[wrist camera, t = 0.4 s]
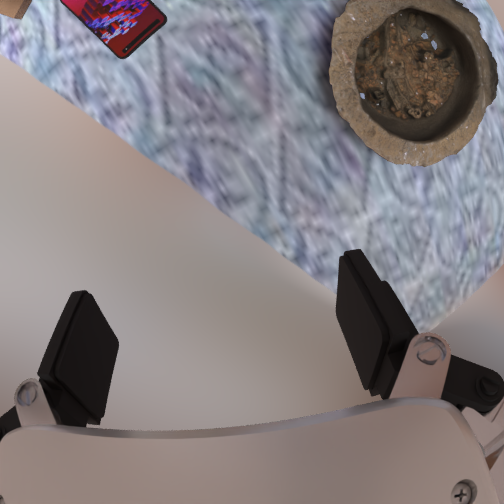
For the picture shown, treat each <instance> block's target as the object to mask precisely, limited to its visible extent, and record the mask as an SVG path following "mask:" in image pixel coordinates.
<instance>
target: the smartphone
mask: <svg viewBox="0 0 504 504" xmlns="http://www.w3.org/2000/svg"><path fill="white" fill-rule="evenodd" d="M60 1H61V3H62V4H63V5H64V6H66V7H67V8H68V9H69V10H70V11H71V12H72V13H73V14H74V15H75V16H76V17H77V18H78V19H79V20H80V21H81V22H82V23H83V24H84V25H85V26H86V27H87V28H88V29H89V30H91V31H92V32H93V33H94V34H95V35H96V36H97V37H98V38H99V39H100V40H101V41H102V42H103V43H104V44H105V45H106V46H107V47H108V48H109V49H110V50H111V51H112V52H113V53H114V54H115V55H116V56H117V57H118V58H120V59H125V58H127V57H128V56H130V55H131V54H132V53H133V52H134V51H135V50H136V49H137V48H138V47H139V46H140V45H141V44H142V43H144V42H145V41H146V40H147V39H148V38H149V37H150V36H151V35H153V34H154V33H155V32H156V31H157V30H158V29H160V28H161V27H162V26H163V25H164V24H165V23H166V21H167V17H166V15H165V14H164V13H163V12H161V11H160V10H159V9H158V8H157V7H156V6H155V5H154V3H153V2H152V1H151V0H60Z"/></svg>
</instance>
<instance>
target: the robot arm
mask: <svg viewBox="0 0 504 504" xmlns="http://www.w3.org/2000/svg"><path fill="white" fill-rule="evenodd" d="M336 316H337V319H338V322H339V324H340V327H341V329H342V332H343V335H344V337H345V340H346V342H347V345H348V347H349V350H350V353H351V355H352V358H353V361H354V363H355V366H356V369H357V371H358V374H359V377H360V379H361V382H362V385H363V387H364V389H365V390H368V389H369V391H370V394H371V396H376V395H379V394H380V395H381V398H382V399H383V400H381V401H376V402H372V403H367V404H362V405H357V406H354V407H349V408H345V409H341V410H336V411H331V412H327V413H321V414H316V415H311V416H306V417H300V418H295V419H289V420H283V421H277V422H270V423H262V424H255V425H246V426H237V427H226V428H214V429H199V430H174V431H173V430H171V431H142V430H141V431H139V430H113V429H98V428H87V427H86V424H87V423H88V424H93V425H100V421H101V418H102V417H104V414H105V408H106V403H107V398H108V393H109V388H110V383H111V379H112V374H113V370H114V365H115V361H116V357H117V353H118V348H119V342H118V339H117V337H116V335H115V334H114V332H113V331H112V329H111V328H110V326H109V324H108V322H107V320H106V319H105V317H104V315H103V314H102V312H101V310H100V308H99V306H98V305H97V303H96V301H95V299H94V297H93V296H92V294H89V293H88V292H87V291H86V290H82V291H75V292H72V294H71V295H70V297H69V299H68V302H67V304H66V306H65V308H64V310H63V312H62V314H61V316H60V319H59V321H58V323H57V325H56V328H55V330H54V332H53V335H52V337H51V339H50V342H49V345H48V347H47V349H46V352H45V354H44V357H43V359H42V362H41V365H40V367H39V370H38V373H37V374H38V376H39V377H40V379H39V381H38V380H36V379H33V378H30V379H27V380H25V381H23V382H22V383H21V384H20V385H19V386H18V388H17V390H16V392H15V396H14V402H15V406H14V407H13V408H11V409H10V410H9V411H8V412H6V413H5V414H4V415H3V416H1V417H0V504H504V381H503V379H502V377H501V376H500V375H499V374H498V373H497V372H495V371H493V370H491V369H488V368H486V367H483V366H480V365H477V364H475V363H472V362H469V361H466V360H464V359H462V358H459V357H456V356H454V355H451V349H450V346H449V344H448V343H447V341H446V340H445V339H444V338H442V337H441V336H440V335H437V334H435V333H430V332H426V333H421V334H419V333H418V331H417V329H416V328H415V326H414V324H413V322H412V321H411V319H410V317H409V316H408V314H407V312H406V311H405V309H404V307H403V306H402V304H401V302H400V301H399V299H398V298H397V296H396V294H395V293H394V291H393V290H392V288H391V286H390V285H389V284H388V282H387V281H381V280H380V278H379V277H378V275H377V274H376V272H375V270H374V269H373V267H372V266H371V264H370V263H369V261H368V259H367V258H366V256H365V255H364V253H363V252H362V250H361V249H356V250H350V251H345V252H344V256H340V258H339V272H338V287H337V301H336ZM475 435H476V437H475ZM478 441H479V442H480V443H481V444H482V445H483V447H484V450H485V457H484V455H483V452H482V450H481V448H480V445H479V443H478Z"/></svg>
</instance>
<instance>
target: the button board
mask: <svg viewBox="0 0 504 504" xmlns="http://www.w3.org/2000/svg"><path fill="white" fill-rule="evenodd" d="M31 1H32V0H0V13H1V14H3V15H6V16H9V17H12V18H17V19H22V17H23V15H24V13H25V12H26V10H27V8H28V6H29V5H30V3H31Z"/></svg>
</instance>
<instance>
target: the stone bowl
mask: <svg viewBox="0 0 504 504" xmlns="http://www.w3.org/2000/svg"><path fill="white" fill-rule="evenodd" d="M462 5H463V4H462V3H460V2H458V1H456V0H350V1H349V2H348V3H347V4H346V9H345V12H344V13H343V14H342V15H341V16H340V17H337V18H336V20H335V23H334V26H333V27H334V28H333V37H332V45H331V48H332V58H331V63H330V68H329V76H330V84H332V88H333V95H334V98H335V100H336V102H337V106H336V108H337V109H338V112H339V115H340V116H341V117H342V118H343V119H345V121H348V122H349V123H350V127H351V128H352V129H353V130H354V131H355V133H356V134H357V135H358V136H359V137H360V138H361V139H362V140H363V141H364V143H365V144H366V146H367V147H369V148H371V149H373V150H374V151H375V152H376V153H377V154H378V155H380V156H381V157H383V158H384V159H386V160H387V161H390V162H392V163H394V164H402V165H403V164H404V163H406V164H410V165H411V166H417V165H418V166H423V167H426V166H429V165H432V164H434V163H437V162H439V161H441V160H442V159H444V158H445V157H447V156H449V155H453V154H457V153H458V152H459V151H460V150H461V149H462V148H463V147H464V146H465V145H466V144H467V143H468V142H469V141H470V140H471V139H472V138H473V136H474V135H475V133H476V131H477V129H478V125H479V124H480V122H481V121H482V119H483V116H484V113H485V112H486V111H485V109H486V107H487V106H488V105H490V104H492V102H493V100H494V99H495V98H496V91H497V84H498V74H497V63H496V61H495V59H494V57H492V52H491V51H490V50H489V46H488V45H487V43H486V42H485V40H484V39H483V38H482V36H481V34H480V30H481V28H480V26H479V25H480V23H479V22H478V18H477V17H476V16H475V15H474V14H473V13H471V12H470V11H469V9H467V8H465V7H463V6H462ZM422 33H427V35H428V39H423V38H422V37H421V35H422ZM368 36H369V38H367V37H368ZM432 40H434V41H435V42H436V43H437V49H436V50H435V49H434V48H433V46H432V44H431V41H432ZM360 93H364V94H365V99H362V98H361V97H360Z"/></svg>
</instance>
